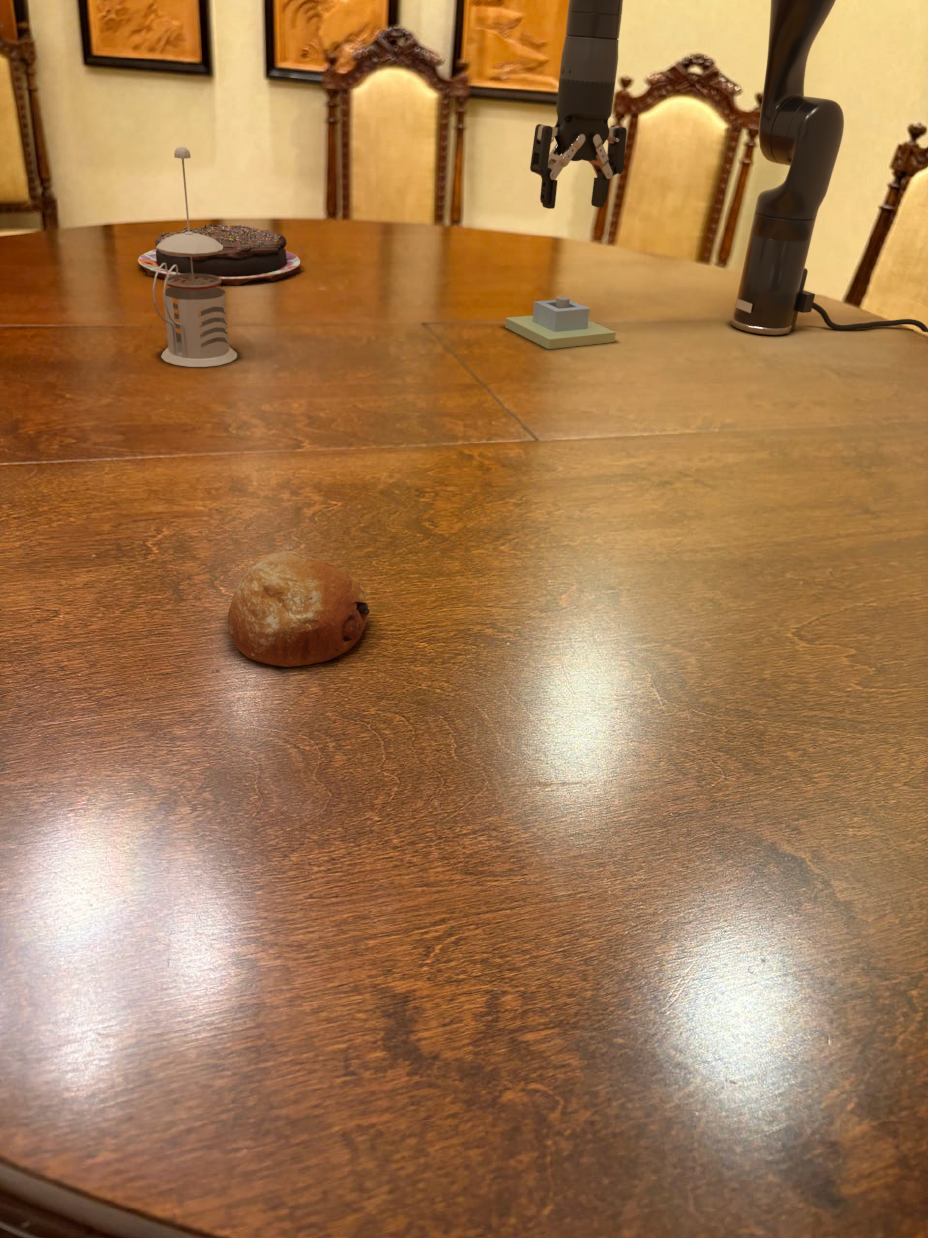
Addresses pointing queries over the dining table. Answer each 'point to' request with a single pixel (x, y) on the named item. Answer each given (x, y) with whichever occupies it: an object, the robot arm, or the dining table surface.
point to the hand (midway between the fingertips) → (573, 207)
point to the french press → (193, 301)
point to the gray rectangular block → (560, 316)
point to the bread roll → (296, 611)
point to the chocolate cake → (230, 256)
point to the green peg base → (560, 338)
